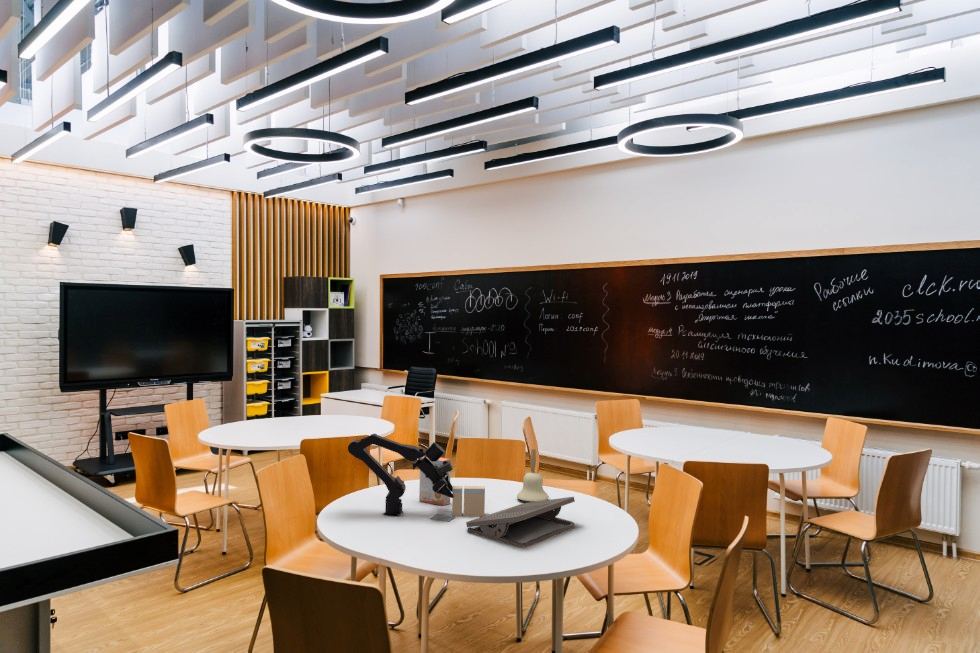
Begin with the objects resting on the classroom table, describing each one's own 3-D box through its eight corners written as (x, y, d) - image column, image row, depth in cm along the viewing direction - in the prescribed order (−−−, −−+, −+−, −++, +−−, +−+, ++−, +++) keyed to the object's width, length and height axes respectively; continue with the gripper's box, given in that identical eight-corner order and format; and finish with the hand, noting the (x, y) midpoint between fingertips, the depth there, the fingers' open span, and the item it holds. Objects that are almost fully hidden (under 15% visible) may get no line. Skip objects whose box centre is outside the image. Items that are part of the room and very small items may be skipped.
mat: (430, 519, 270) (430, 518, 270) (437, 514, 277) (437, 513, 277) (449, 521, 267) (449, 520, 267) (455, 517, 274) (455, 516, 274)
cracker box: (450, 503, 294) (451, 458, 294) (442, 506, 289) (443, 460, 289) (426, 498, 302) (427, 454, 302) (418, 501, 297) (419, 456, 296)
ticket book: (463, 516, 275) (464, 488, 275) (463, 513, 280) (464, 485, 279) (484, 516, 275) (484, 488, 275) (484, 513, 280) (484, 486, 280)
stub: (452, 516, 275) (452, 488, 275) (452, 512, 279) (453, 485, 279) (461, 516, 275) (461, 488, 275) (461, 513, 279) (462, 485, 279)
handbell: (521, 505, 292) (522, 451, 292) (512, 496, 307) (513, 445, 307) (553, 503, 296) (554, 450, 296) (542, 495, 311) (543, 444, 311)
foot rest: (522, 511, 285) (523, 483, 284) (579, 526, 265) (579, 496, 265) (462, 532, 255) (463, 501, 255) (521, 551, 235) (521, 517, 235)
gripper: (440, 460, 268) (466, 486, 268) (443, 451, 286) (467, 476, 286) (421, 479, 268) (447, 505, 268) (425, 469, 286) (449, 493, 286)
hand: (453, 494), depth 277 cm, fingers open, 9 cm apart
